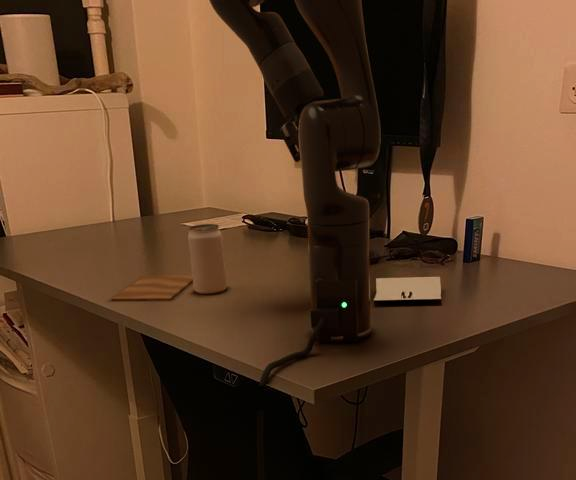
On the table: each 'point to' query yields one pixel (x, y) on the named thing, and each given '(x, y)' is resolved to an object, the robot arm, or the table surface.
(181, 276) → the placemat
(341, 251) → the robot arm
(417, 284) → the folded paper
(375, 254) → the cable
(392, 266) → the table surface
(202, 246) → the can
